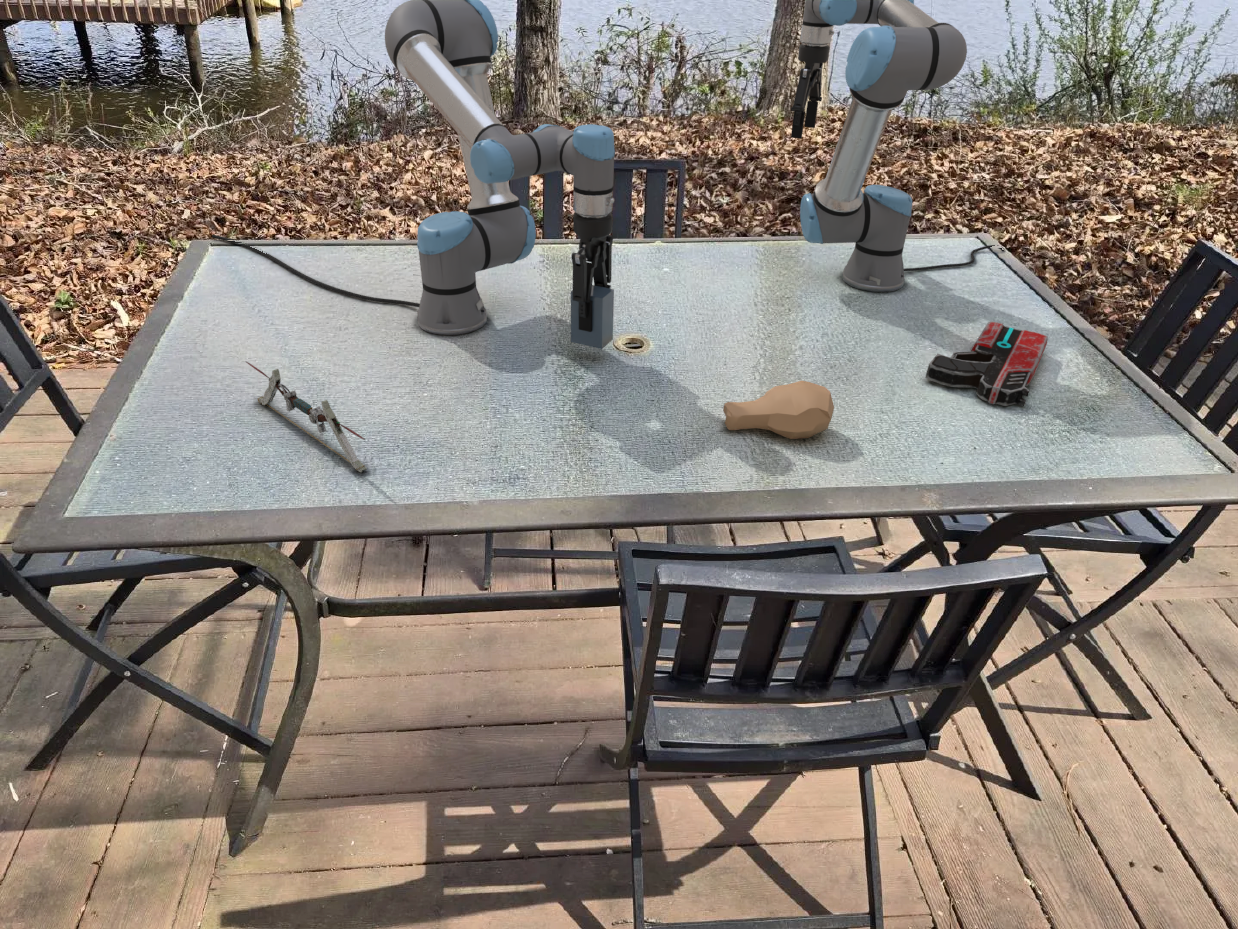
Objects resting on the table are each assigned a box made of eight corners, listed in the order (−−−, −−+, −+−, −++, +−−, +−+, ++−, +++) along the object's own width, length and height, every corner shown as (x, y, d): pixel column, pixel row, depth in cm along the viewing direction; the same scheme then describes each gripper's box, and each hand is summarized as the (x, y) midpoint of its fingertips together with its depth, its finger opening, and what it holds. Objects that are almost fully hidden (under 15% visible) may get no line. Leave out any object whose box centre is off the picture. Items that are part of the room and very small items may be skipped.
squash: (838, 445, 158) (841, 407, 151) (727, 454, 159) (725, 416, 153) (828, 406, 165) (831, 369, 159) (722, 415, 167) (721, 378, 161)
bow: (376, 475, 146) (368, 423, 140) (367, 479, 145) (359, 428, 139) (259, 394, 167) (248, 347, 162) (250, 398, 166) (238, 350, 160)
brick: (570, 341, 181) (570, 291, 175) (582, 332, 185) (582, 282, 179) (601, 349, 179) (602, 298, 172) (613, 339, 182) (614, 289, 176)
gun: (926, 366, 174) (1027, 394, 166) (962, 310, 196) (1054, 333, 188) (920, 386, 177) (1020, 414, 169) (957, 329, 199) (1047, 352, 191)
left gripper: (588, 229, 159) (588, 345, 172) (631, 202, 172) (627, 312, 185) (552, 222, 161) (554, 337, 174) (596, 196, 175) (595, 305, 188)
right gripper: (817, 52, 209) (804, 144, 220) (840, 38, 228) (828, 124, 239) (787, 49, 211) (776, 140, 223) (812, 36, 230) (801, 121, 242)
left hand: (592, 324), depth 180 cm, fingers closed on brick, 5 cm apart
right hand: (802, 132), depth 231 cm, fingers open, 13 cm apart
